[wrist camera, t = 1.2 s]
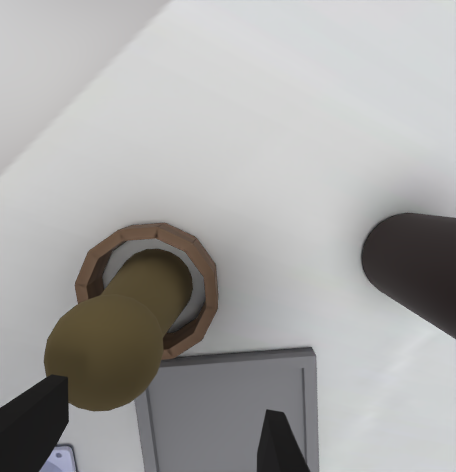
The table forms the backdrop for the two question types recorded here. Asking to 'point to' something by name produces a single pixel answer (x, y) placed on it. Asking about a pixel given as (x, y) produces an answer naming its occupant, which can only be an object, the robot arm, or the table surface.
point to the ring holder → (99, 255)
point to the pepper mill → (119, 332)
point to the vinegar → (416, 265)
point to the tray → (226, 409)
